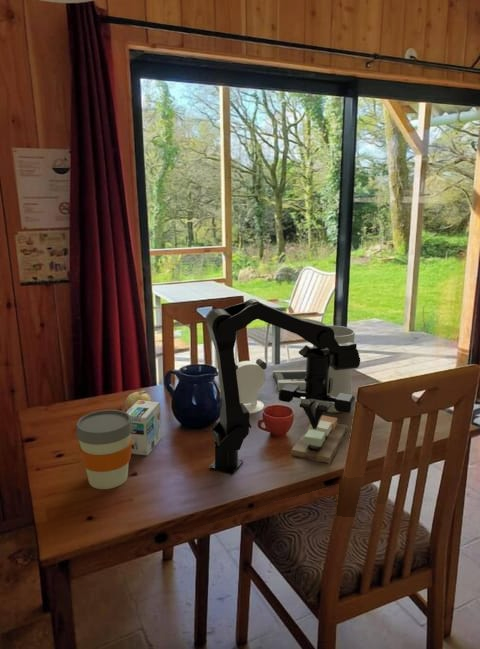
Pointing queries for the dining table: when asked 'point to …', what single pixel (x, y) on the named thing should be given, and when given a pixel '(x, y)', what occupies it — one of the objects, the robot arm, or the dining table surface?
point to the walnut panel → (326, 448)
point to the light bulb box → (145, 426)
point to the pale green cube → (314, 438)
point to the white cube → (324, 427)
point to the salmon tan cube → (330, 419)
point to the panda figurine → (250, 383)
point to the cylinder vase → (340, 376)
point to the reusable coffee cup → (105, 447)
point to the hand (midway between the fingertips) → (314, 428)
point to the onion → (136, 398)
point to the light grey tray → (290, 378)
